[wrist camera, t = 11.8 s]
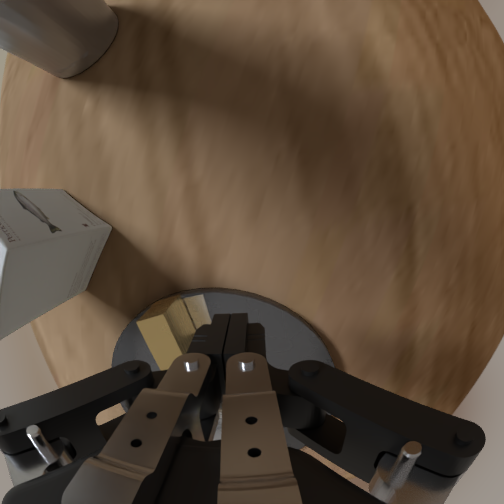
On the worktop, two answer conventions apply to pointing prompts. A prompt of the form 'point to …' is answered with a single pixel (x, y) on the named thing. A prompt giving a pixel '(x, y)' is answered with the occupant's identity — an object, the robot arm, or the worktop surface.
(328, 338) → the worktop surface
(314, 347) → the flange
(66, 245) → the supplement box
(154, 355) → the tan curved piece
